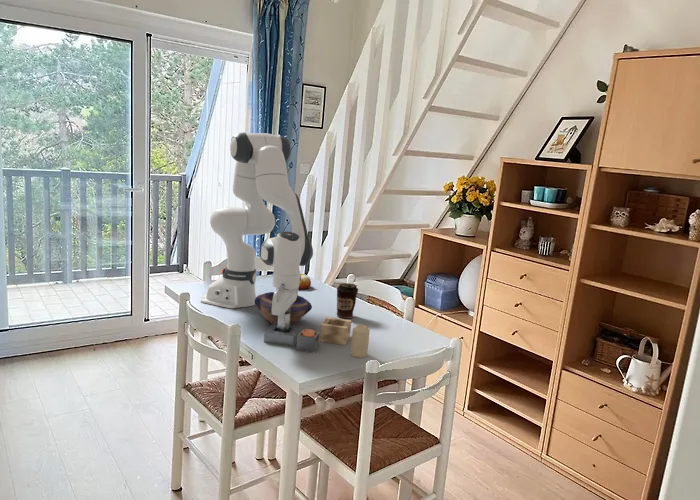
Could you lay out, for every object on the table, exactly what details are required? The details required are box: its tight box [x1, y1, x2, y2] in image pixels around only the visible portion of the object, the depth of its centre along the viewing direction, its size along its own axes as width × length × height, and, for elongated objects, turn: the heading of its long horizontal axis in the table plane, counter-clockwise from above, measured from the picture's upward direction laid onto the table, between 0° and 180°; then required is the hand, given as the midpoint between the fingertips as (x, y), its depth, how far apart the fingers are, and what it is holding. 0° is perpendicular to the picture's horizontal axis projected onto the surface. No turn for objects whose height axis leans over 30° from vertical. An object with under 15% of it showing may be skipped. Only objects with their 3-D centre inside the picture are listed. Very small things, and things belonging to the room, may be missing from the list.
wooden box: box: [319, 316, 352, 346], centre depth 185 cm, size 9×9×6 cm
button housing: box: [296, 329, 321, 354], centre depth 174 cm, size 6×6×5 cm
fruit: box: [298, 273, 312, 290], centre depth 247 cm, size 11×10×8 cm
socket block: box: [263, 323, 302, 347], centre depth 181 cm, size 10×10×4 cm
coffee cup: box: [336, 282, 359, 319], centre depth 209 cm, size 9×8×13 cm
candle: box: [350, 323, 370, 359], centre depth 172 cm, size 6×6×10 cm
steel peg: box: [277, 307, 291, 333], centre depth 180 cm, size 4×4×11 cm
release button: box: [302, 328, 316, 337], centre depth 174 cm, size 4×4×4 cm
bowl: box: [254, 291, 313, 325], centre depth 197 cm, size 18×18×10 cm
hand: (283, 320), depth 180 cm, fingers closed on steel peg, 4 cm apart
